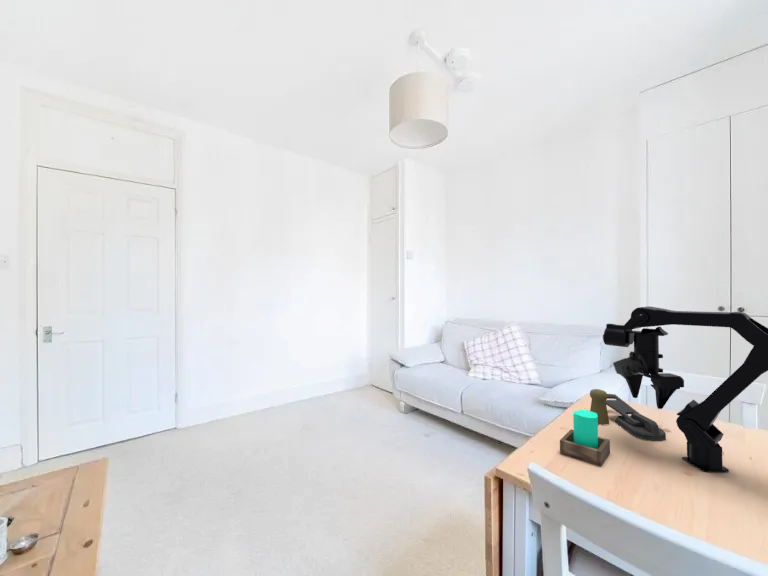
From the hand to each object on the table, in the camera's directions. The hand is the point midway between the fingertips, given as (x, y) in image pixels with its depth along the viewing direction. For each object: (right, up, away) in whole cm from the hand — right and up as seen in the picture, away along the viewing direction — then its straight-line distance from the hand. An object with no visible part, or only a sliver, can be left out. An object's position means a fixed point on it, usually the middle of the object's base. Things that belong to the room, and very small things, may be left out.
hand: (646, 402), depth 97 cm
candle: (-20, -13, -3) cm, 23 cm away
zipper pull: (+6, -13, +16) cm, 22 cm away
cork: (-2, -13, +19) cm, 23 cm away
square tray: (-20, -13, -3) cm, 24 cm away
